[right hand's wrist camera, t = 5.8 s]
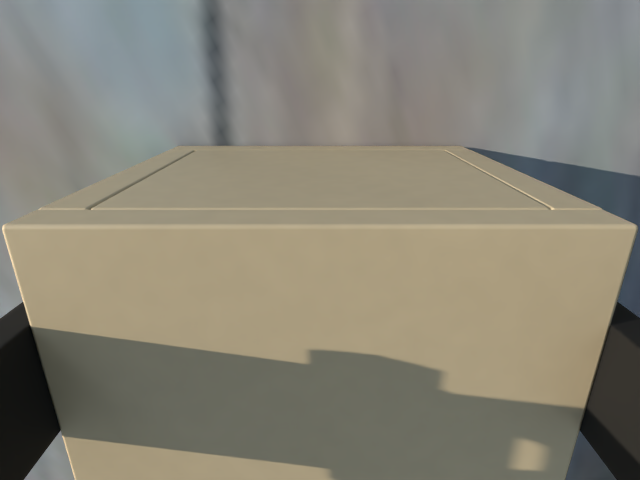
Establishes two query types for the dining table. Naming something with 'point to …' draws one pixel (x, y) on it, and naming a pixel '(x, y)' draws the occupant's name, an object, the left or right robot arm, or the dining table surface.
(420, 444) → the cabinet
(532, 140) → the dining table surface
